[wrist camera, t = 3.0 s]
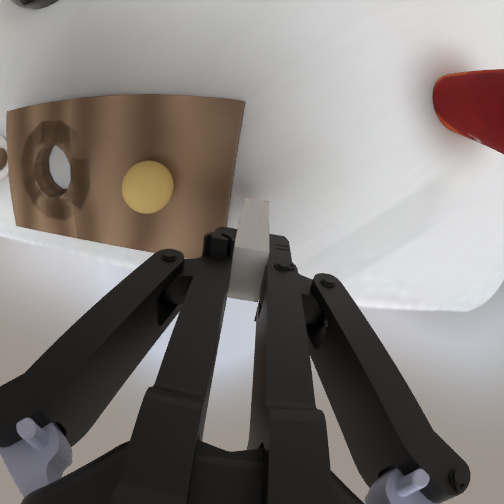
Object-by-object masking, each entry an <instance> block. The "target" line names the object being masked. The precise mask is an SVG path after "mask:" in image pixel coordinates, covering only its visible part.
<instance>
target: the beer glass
mask: <svg viewBox="0 0 504 504" xmlns="http://www.w3.org/2000/svg"><path fill="white" fill-rule="evenodd" d="M7 175H8V160H7V141H6V139H5V138H4V137H3V136H1V135H0V180H2V179H4V178H5V177H6V176H7Z"/></svg>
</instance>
